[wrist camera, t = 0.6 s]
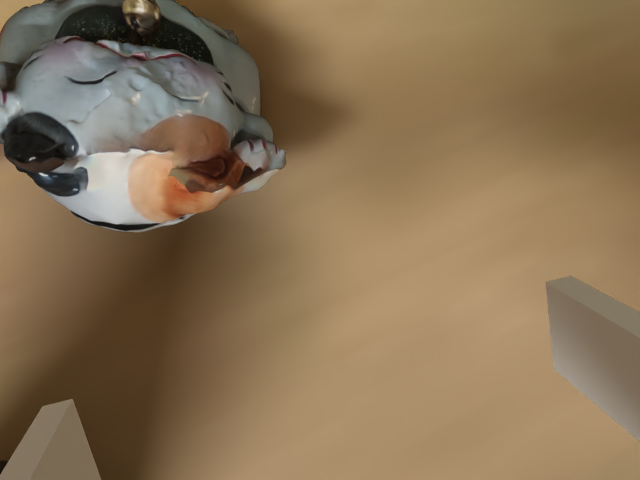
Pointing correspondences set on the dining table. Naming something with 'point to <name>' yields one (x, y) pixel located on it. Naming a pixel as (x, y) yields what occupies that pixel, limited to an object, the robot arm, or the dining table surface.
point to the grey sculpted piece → (132, 110)
